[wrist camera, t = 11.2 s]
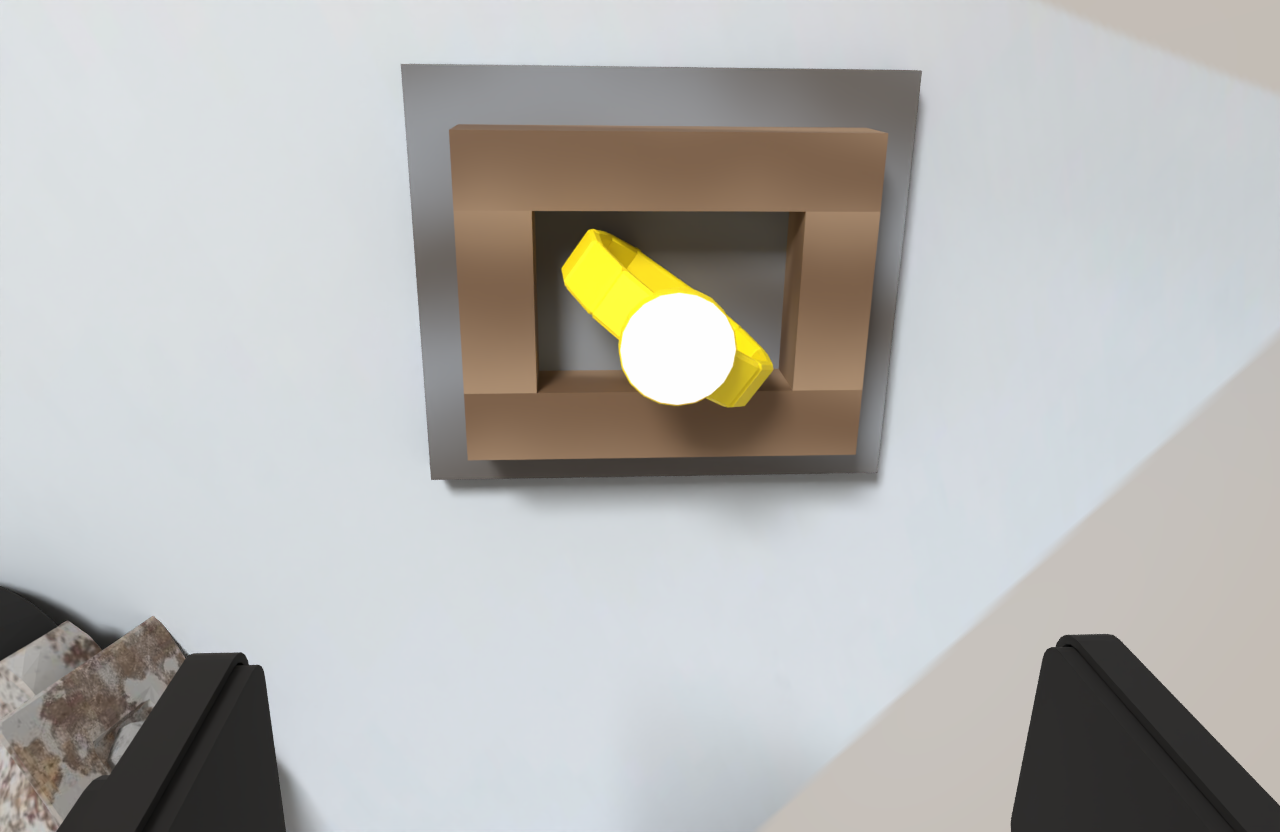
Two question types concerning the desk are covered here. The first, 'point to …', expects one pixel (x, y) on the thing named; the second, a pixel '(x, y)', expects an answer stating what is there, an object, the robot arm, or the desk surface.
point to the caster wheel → (69, 708)
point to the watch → (664, 327)
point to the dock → (655, 259)
